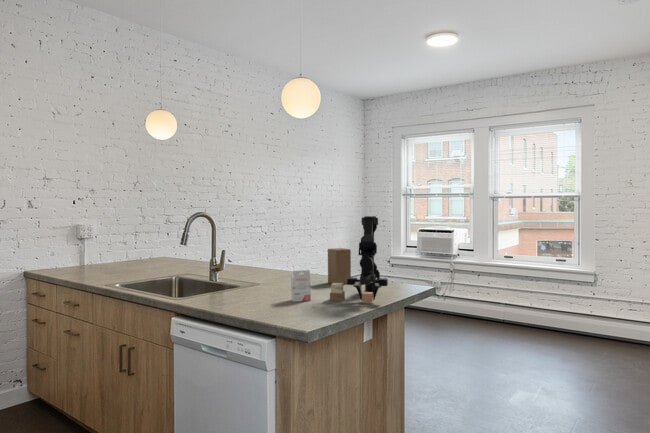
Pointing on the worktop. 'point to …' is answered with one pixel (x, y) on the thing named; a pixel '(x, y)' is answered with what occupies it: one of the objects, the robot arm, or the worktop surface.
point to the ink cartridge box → (300, 286)
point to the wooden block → (339, 265)
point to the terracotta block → (367, 297)
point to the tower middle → (336, 287)
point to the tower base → (337, 296)
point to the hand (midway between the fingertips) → (367, 300)
